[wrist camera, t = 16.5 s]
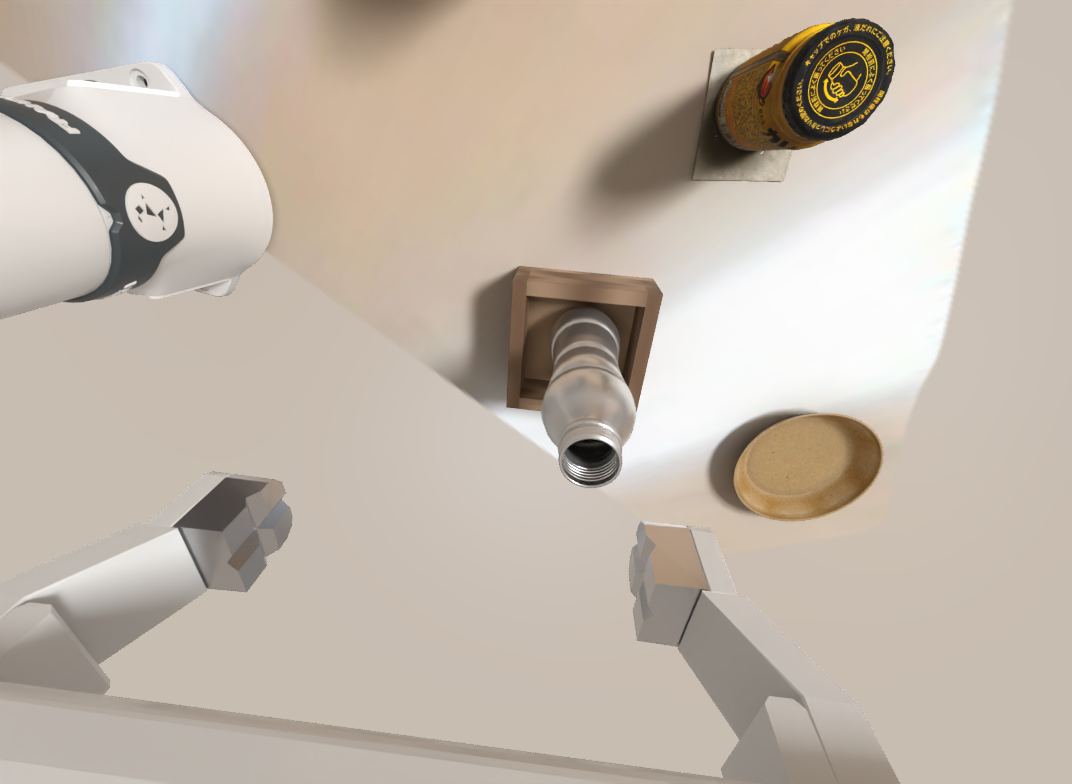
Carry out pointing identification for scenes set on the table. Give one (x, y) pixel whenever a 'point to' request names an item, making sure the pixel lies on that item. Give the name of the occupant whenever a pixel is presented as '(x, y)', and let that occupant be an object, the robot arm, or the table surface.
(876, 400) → the table surface
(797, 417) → the plant saucer
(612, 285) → the tray
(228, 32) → the table surface
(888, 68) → the condiment
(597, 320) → the plastic bottle
